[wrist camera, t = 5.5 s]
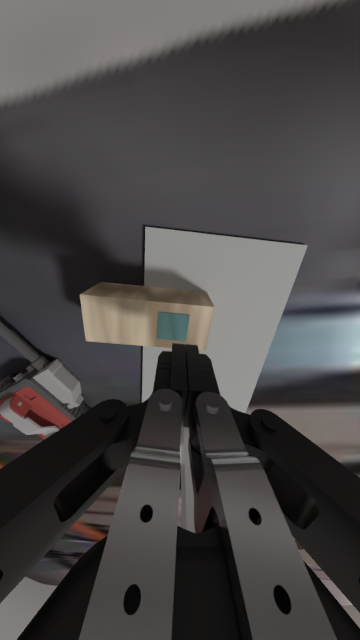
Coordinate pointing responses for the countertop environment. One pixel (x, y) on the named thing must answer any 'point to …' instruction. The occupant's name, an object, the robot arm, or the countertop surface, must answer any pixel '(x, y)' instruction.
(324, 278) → the countertop surface
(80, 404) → the walkie-talkie
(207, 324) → the beech block
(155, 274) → the mat
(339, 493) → the robot arm
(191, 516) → the grey block
